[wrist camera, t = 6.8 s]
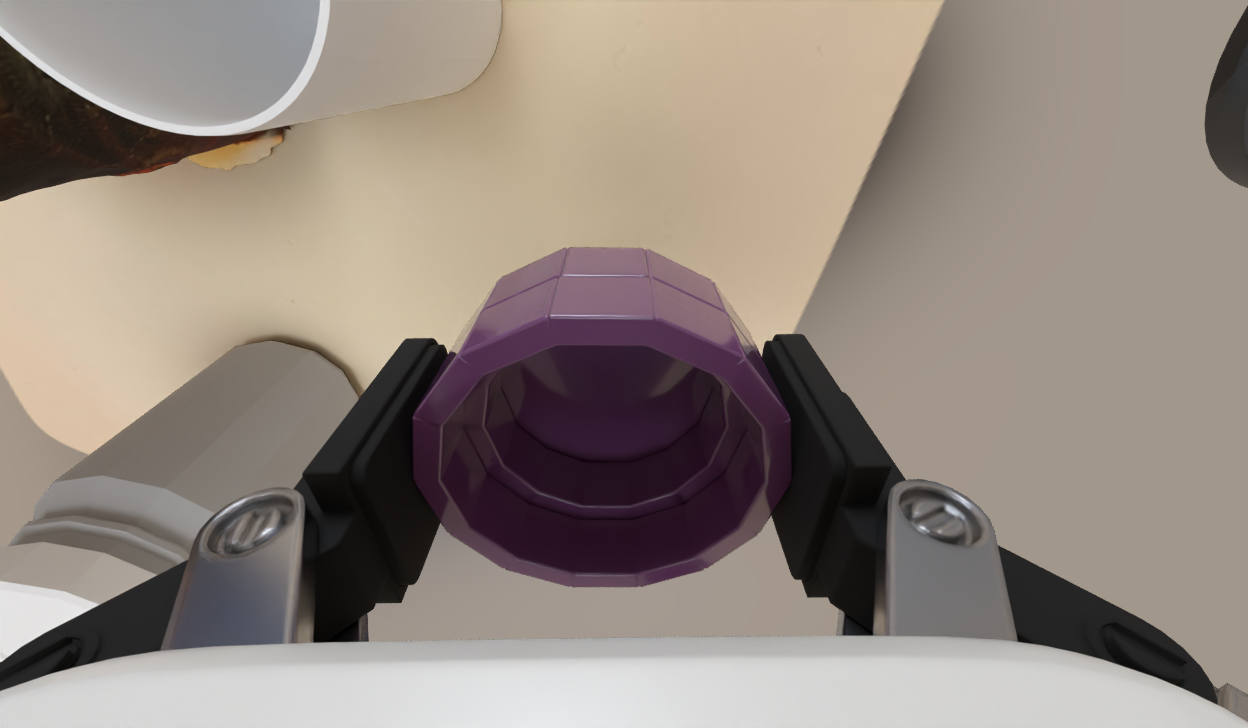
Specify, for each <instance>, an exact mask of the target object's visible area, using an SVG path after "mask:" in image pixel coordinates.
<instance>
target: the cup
mask: <svg viewBox="0 0 1248 728" xmlns="http://www.w3.org/2000/svg"><path fill="white" fill-rule="evenodd" d="M501 18H502V4H501V0H0V36H1V37H2V38H3V39H4V40H6V41H7V42H8V43H9V44H10V45H11V46H12V47H13V48H15V49H16V50H17V51H18V52H20V53H21V54H22V55H23V56H25V57H26V58H27V59H28V60H30V61H31V62H32V63H33V64H35V65H36V66H37V67H38V68H40V69H41V70H43V71H44V72H46V73H47V74H48V75H50V76H51V77H53V78H54V79H55V80H57V81H58V82H60V83H61V84H63V85H64V86H66V87H68V88H69V89H71V90H72V91H74V92H76V93H77V94H79V95H80V96H82V97H84V98H86V99H88V100H89V101H91V102H93V103H95V104H97V105H99V106H100V107H103V108H105V109H107V110H109V111H111V112H113V113H115V114H117V115H120V116H122V117H124V118H127V119H130V120H132V121H135V122H137V123H140V124H143V125H146V126H150V127H153V128H156V129H160V130H164V131H169V132H174V133H179V134H187V135H195V136H228V135H238V134H245V133H251V132H256V131H261V130H266V129H272V128H277V127H282V126H288V125H293V124H298V123H303V122H309V121H314V120H319V119H324V118H329V117H334V116H340V115H345V114H350V113H355V112H360V111H365V110H371V109H376V108H381V107H386V106H391V105H396V104H402V103H407V102H412V101H417V100H422V99H427V98H433V97H438V96H443V95H448V94H452V93H455V92H457V91H460V90H462V89H464V88H465V87H467V86H469V85H470V84H471V83H473V82H474V81H475V80H476V79H477V78H478V77H479V76H480V75H481V74H482V73H483V71H484V70H485V69H486V67H487V66H488V64H489V62H490V61H491V59H492V57H493V54H494V52H495V49H496V46H497V43H498V39H499V35H500V29H501Z"/></svg>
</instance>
